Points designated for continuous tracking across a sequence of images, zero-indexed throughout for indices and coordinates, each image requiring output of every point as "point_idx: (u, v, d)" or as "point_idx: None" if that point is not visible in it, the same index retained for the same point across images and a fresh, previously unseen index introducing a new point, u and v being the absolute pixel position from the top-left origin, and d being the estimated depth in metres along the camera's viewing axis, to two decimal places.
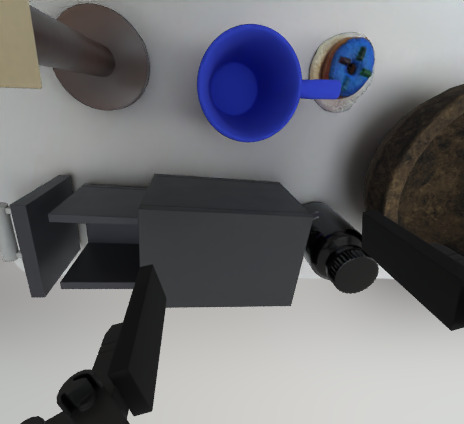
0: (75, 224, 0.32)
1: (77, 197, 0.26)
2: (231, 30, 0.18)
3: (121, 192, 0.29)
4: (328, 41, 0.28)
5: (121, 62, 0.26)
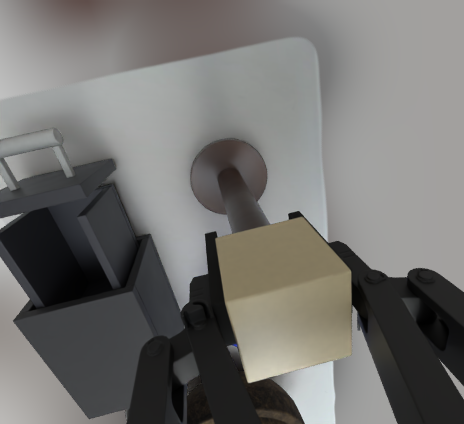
0: None
1: (105, 205, 0.26)
2: None
3: (124, 227, 0.29)
4: None
5: None
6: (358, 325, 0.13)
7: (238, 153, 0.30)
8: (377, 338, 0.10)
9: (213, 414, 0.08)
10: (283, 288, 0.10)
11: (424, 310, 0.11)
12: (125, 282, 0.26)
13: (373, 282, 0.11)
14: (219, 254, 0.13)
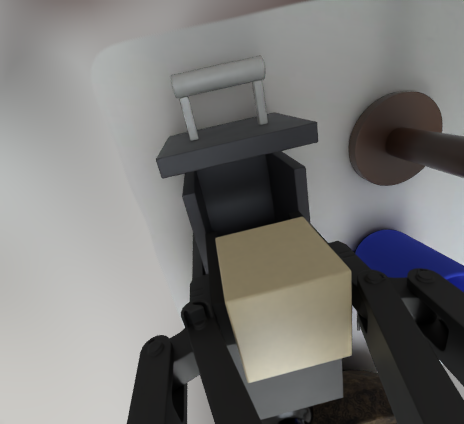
0: None
1: None
2: None
3: None
4: None
5: (398, 161, 0.27)
6: (358, 325, 0.13)
7: (416, 108, 0.25)
8: (377, 338, 0.10)
9: (213, 414, 0.08)
10: (283, 288, 0.10)
11: (424, 310, 0.11)
12: None
13: (372, 282, 0.11)
14: (219, 254, 0.13)
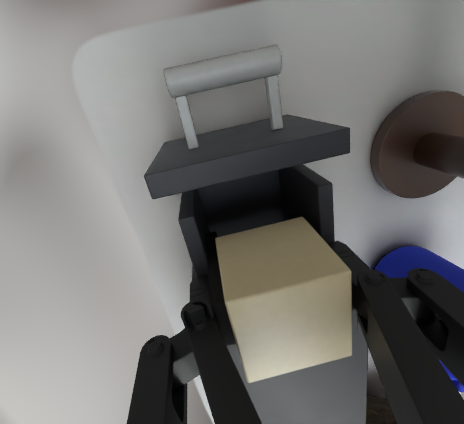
0: None
1: None
2: None
3: None
4: None
5: (427, 171, 0.23)
6: (358, 325, 0.13)
7: (451, 111, 0.21)
8: (377, 338, 0.10)
9: (213, 414, 0.08)
10: (283, 288, 0.10)
11: (424, 310, 0.11)
12: None
13: (372, 282, 0.11)
14: (219, 254, 0.13)
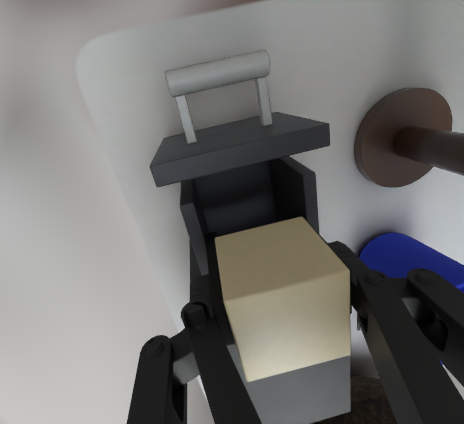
0: None
1: None
2: None
3: None
4: None
5: (406, 162, 0.25)
6: (358, 325, 0.13)
7: (426, 106, 0.23)
8: (377, 338, 0.10)
9: (213, 414, 0.08)
10: (281, 288, 0.10)
11: (423, 310, 0.11)
12: None
13: (372, 282, 0.11)
14: (218, 254, 0.13)
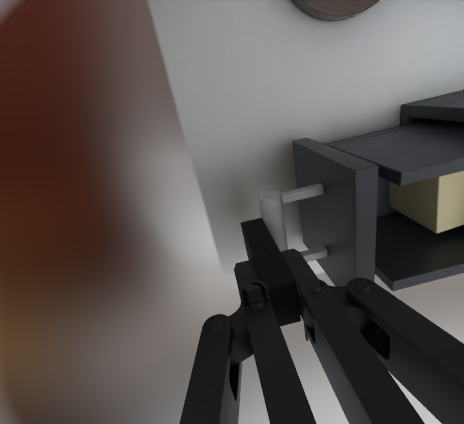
0: None
1: (368, 152, 0.17)
2: None
3: (399, 134, 0.19)
4: None
5: None
6: (306, 335, 0.13)
7: None
8: (325, 349, 0.10)
9: (263, 388, 0.08)
10: (438, 206, 0.18)
11: (365, 320, 0.11)
12: None
13: (314, 292, 0.11)
14: (403, 213, 0.21)
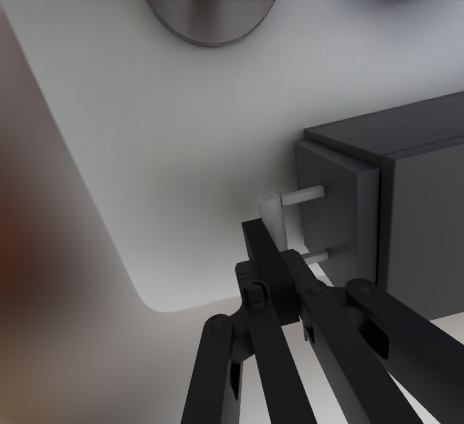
0: None
1: None
2: None
3: None
4: None
5: None
6: (305, 335, 0.13)
7: None
8: (324, 349, 0.10)
9: (264, 388, 0.08)
10: None
11: (364, 320, 0.11)
12: None
13: (313, 292, 0.11)
14: None
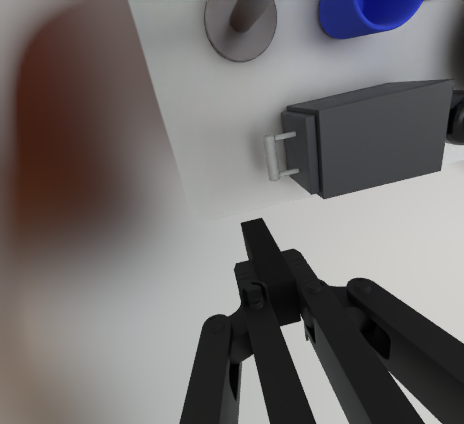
0: None
1: None
2: None
3: None
4: None
5: None
6: (306, 335, 0.13)
7: (216, 8, 0.32)
8: (325, 349, 0.10)
9: (263, 388, 0.08)
10: None
11: (365, 320, 0.11)
12: None
13: (314, 292, 0.11)
14: None
